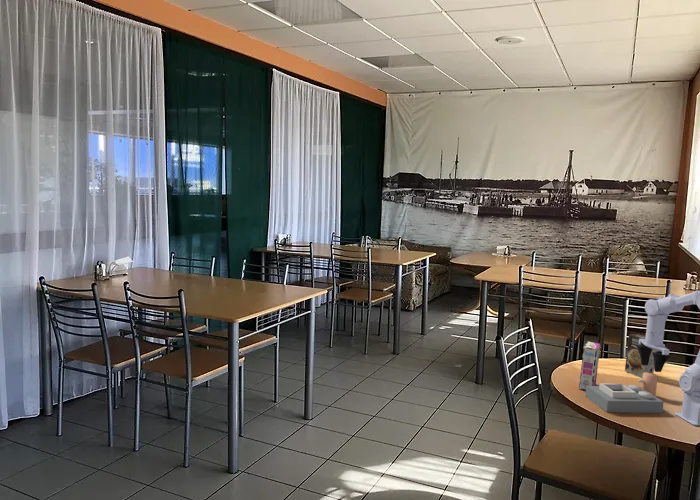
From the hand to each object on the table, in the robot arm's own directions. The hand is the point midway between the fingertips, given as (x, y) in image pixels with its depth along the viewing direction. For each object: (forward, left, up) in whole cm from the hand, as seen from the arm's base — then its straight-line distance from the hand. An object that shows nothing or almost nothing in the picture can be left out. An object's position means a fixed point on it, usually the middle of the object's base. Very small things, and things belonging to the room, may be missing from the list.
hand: (651, 368), depth 201 cm
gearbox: (-9, +16, -10) cm, 21 cm away
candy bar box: (+8, +19, -11) cm, 23 cm away
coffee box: (+24, -12, -11) cm, 29 cm away
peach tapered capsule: (0, 0, -10) cm, 10 cm away
